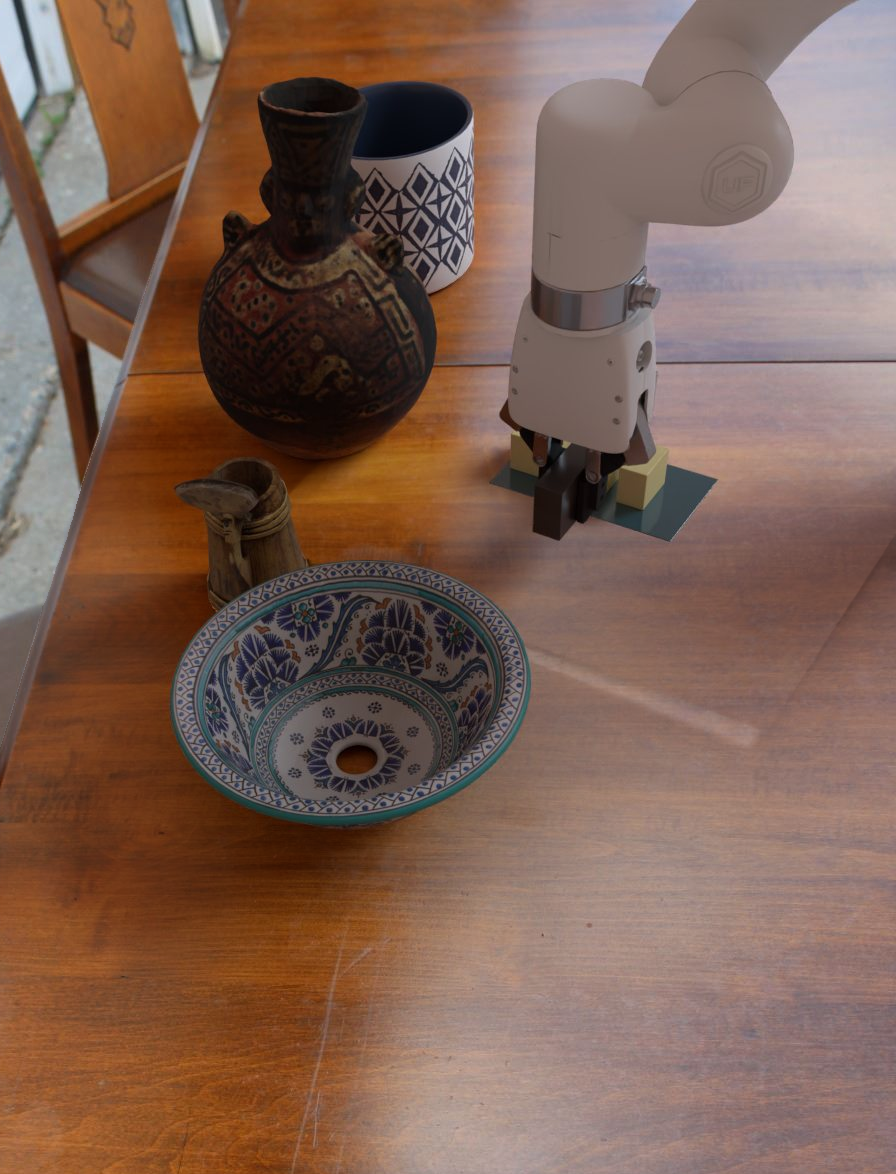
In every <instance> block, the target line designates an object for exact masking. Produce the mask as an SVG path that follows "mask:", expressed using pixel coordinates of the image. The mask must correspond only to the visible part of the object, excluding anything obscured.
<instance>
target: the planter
mask: <svg viewBox="0 0 896 1174" xmlns="http://www.w3.org/2000/svg"><path fill="white" fill-rule="evenodd" d="M355 89H356V90H358V91H360V93H361V94H363V95H365V96H366V98H367V100H368V108H367V112H366V116H365V119H364V120H363V123H362V126H361V129H360V131H359V134H358V137H357V140H356V142H355V145H354V148H353V154H352V159H351V165H352V167H353V169H354V170H356V171H357V172H358V173H359V175H360V176H361V177H362V179H363V181H364V183H365V186H366V198H365V202H364V204H363V205H362V207H361V209H360V210H359V211H358V212H357V213H356V214H355V215H354V217H353V218H352V219H351V220H352V221H354V222H356V223H358V224H359V225H361V226H363V227H365V228H366V229H368V230H369V231H371V232H373V233H374V234H376V235H378V234H383V233H391V234H394V235H396V236H398V237H399V238H400V239H401V240H402V242H403V245H404V252H405V255H404V258H405V259H406V260H407V261H408V262H409V264H410V265H411V266H412V267H413V268H414V269H415V271H416V272H417V274H418V275H419V277H420V279H421V280H422V282H423V284H424V286H425V289H426V291H427V294H428V295H430V294H434V293H436V292H438V291H441V290H443V289H444V288H446V287H448V286H450V285H451V284H453V283H455V282H456V281H457V280H459V278H461V277H462V276H464V274H465V273H466V272H467V271H468V270H469V268H470V266H471V264H472V263H473V260H474V257H475V145H474V144H475V140H474V139H475V136H474V135H475V134H474V133H475V132H474V128H475V127H474V108H473V106H472V104H471V102H470V101H469V100H468V97H466V96H465V95H464V94H462V93H461V92H459V91H457V90H455V89H453V88H451V87H448V86H446V85H443V84H438V83H434V82H427V81H420V80H419V81H417V80H396V81H387V82H381V83H374V84H370V85H365V86H362V87H359V88H355Z"/></svg>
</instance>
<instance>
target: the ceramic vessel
mask: <svg viewBox="0 0 896 1174" xmlns="http://www.w3.org/2000/svg"><path fill="white" fill-rule="evenodd" d="M356 89H357V88H355V87H353V86H350V85H347V84H345V83H344V82H342V81H339V80H337V79H335V78H327V77H321V76H308V77H307V76H304V77H303V76H301V77H296V78H292V79H287V80H284V81H277V82H273V83H271V84H268V85H266V86H264V87H263V89H262V90H260V91H259V93H258V95H257V99H256V100H257V101H256V103H257V109H258V117H259V120H260V126H261V130H262V133H263V136H264V140H265V142H266V147H267V150H268V154H269V158H270V164H271V166H270V167H269V168H268V169H267V171H266V172H265V173H264V175H263V177H262V179H261V182H260V184H259V187H258V191H259V196H260V199H261V202H262V204H263V205H264V207H265V209H266V210H267V212H268V213H269V215H270V216H269V217H268V218H267V219H266V220H264V221H261V222H260V223H258V224H256V223H252V222H251V221H250V220H249V219H248V218H247V217H246V216H245V215H244V214H243V213H241V212H239V211H238V210H230V211H228V212H227V214H225V215H224V216H223V218H222V222H221V223H222V224H221V225H222V228H221V229H222V230H221V232H222V240H223V247H224V249H223V252H222V254H221V256H220V257H219V259H218V260H217V262H216V263H215V264H214V265H213V267H212V270H211V272H210V274H209V276H208V277H207V280H206V282H205V283H204V284H205V285H204V288H203V290H202V294H201V298H200V304H199V310H198V322H197V342H198V351H199V352H198V353H199V358H200V363H201V368H202V371H203V374H204V377H205V380H206V382H207V384H208V386H209V388H210V390H211V392H212V395H213V397H214V398H215V400H216V401H217V403H218V404H219V406H220V407H221V409H222V410H223V411H224V413H225V414H226V415H227V416H228V417H229V418H230V419H231V420H232V421H233V422H234V423H235V424H237V425H238V426H239V427H240V428H241V429H243V430H244V431H245V432H247V433H248V434H249V435H250V436H252V437H254V438H255V439H256V440H258V441H259V442H261V444H263V445H264V446H267V447H269V448H271V449H273V450H276V451H278V452H280V453H282V454H284V455H287V456H290V457H294V458H297V459H301V460H310V461H325V460H331V459H339V458H342V457H347V456H350V455H353V454H356V453H358V452H361V451H364V450H365V449H367V448H369V447H371V446H372V445H373V444H375V443H376V442H378V441H379V440H381V439H382V438H383V437H384V436H386V435H387V434H389V433H390V431H392V430H393V429H394V428H395V427H396V426H397V425H399V423H400V422H401V421H402V420H403V419H404V418H405V417H406V416H407V415H408V414H409V413H410V411H411V410H412V409H413V407H414V406H415V405H416V404H417V402H418V401H419V399H420V397H421V395H422V393H423V392H424V390H425V388H426V386H427V383H428V381H429V379H430V376H431V374H432V371H433V368H434V364H435V358H436V351H437V346H438V345H437V344H438V329H437V324H436V318H435V314H434V313H435V312H434V309H433V306H432V303H431V299H430V296H429V294H427V291H426V289H425V286H424V284H423V282H422V280H421V279H420V277H419V275H418V274H417V272H416V271H415V269H414V268H413V267H412V266H411V265H410V264H409V262H408V261H407V260H406V259H405V258H404V255H405V252H404V245H403V242H402V240H401V239H400V238H399V237H398V236H396V235H394V234H391V233H383V234H378V235H376V234H374V233H373V232H371V231H369V230H368V229H366V228H365V227H363V226H361V225H359V224H358V223H356V222H354V221H352V220H351V219H352V218H353V217H354V215H355V214H356V213H357V212H358V211H359V210H360V209H361V207H362V205H363V204H364V202H365V198H366V186H365V183H364V181H363V179H362V177H361V176H360V175H359V173H358V172H357V171H356V170H354V169H353V167H352V165H351V159H352V154H353V148H354V145H355V142H356V140H357V137H358V134H359V131H360V129H361V126H362V123H363V120H364V119H365V116H366V112H367V108H368V100H367V98H366V96H365V95H363V94H361V93H360V91H358V90H356Z"/></svg>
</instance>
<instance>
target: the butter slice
mask: <svg viewBox="0 0 896 1174" xmlns="http://www.w3.org/2000/svg"><path fill="white" fill-rule="evenodd" d="M655 447H656V453H655V454H654V456H653V457H652V458H651V459H650V460H649V462H648V463H646V464H641V465H633V466H628V465H625V466H622V467H621V468H619V478H618V488H617V498H616V502H618V503H621V504H625V505H628V506H631V507H634V508H637V509H640V510H644V508H645V507H646V506H647V505H648V503H649V502H650V501H651V500H652V498H653V497H654V496H655V495H656V493H657V492H658V491H659V490H660V488H661V487H662V486H663V485H664V483H665V475H666V468H667V464H668V461H669V460H668V459H669V451H670V448H668V447H665V446H662V445H658V444H655Z"/></svg>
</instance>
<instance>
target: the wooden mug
mask: <svg viewBox="0 0 896 1174" xmlns="http://www.w3.org/2000/svg"><path fill="white" fill-rule="evenodd" d="M173 491H174V493H175V495H176V496H177V497H178V498H179V500H180V501H182V502H183V503H185V504H186V505H188V506H191V507H193V508H196V509H199V510H201V511H202V514H203V518H204V521H205V525H206V533H207V549H208V573H207V576H206V585H207V597H208V596H209V598H208V600H209V599H210V601H211V604H212V606H213V607H214V608H215V610H217V611H219V610H220V609H221V608H223V607H224V606H225V605H227V604H228V603H229V602H230V601H232V600H233V599H235V598H236V597H238V596H239V595H241V594H243V593H244V592H246V591H248V590H250V589H251V588H253V587H255V586H257V585H259V584H261V583H263V582H266V581H268V580H270V579H272V578H275V577H278V576H280V575H283V574H285V573H289V572H292V571H295V570H298V569H302V568H306V567H309V564H308V559H307V557H305V555H304V554H303V552H302V549H301V545H300V542H299V538H298V535H297V532H296V531H297V530H296V529H295V525H294V522H293V521H294V520H293V518H292V503H291V499H290V495H289V493H288V489H287V486H286V483H285V481H284V480H283V479H282V478H281V475H280V471H279V469H278V468H277V467H276V466H275V464H273V463H271V462H270V461H268V460H267V459H264V458H261V457H257V456H238V457H232V458H229V459H226V460H224V461H222V462H221V463H220V464H218V465H217V466H216V467H214V468H213V469H212V470H211V471H210V473H209V474H208V475H207V477H202V478H195V479H189V480H186V481H183V482H180V483H178V484H177V485H175V486H174V488H173ZM210 601H209V602H210ZM211 604H210V605H211Z"/></svg>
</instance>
